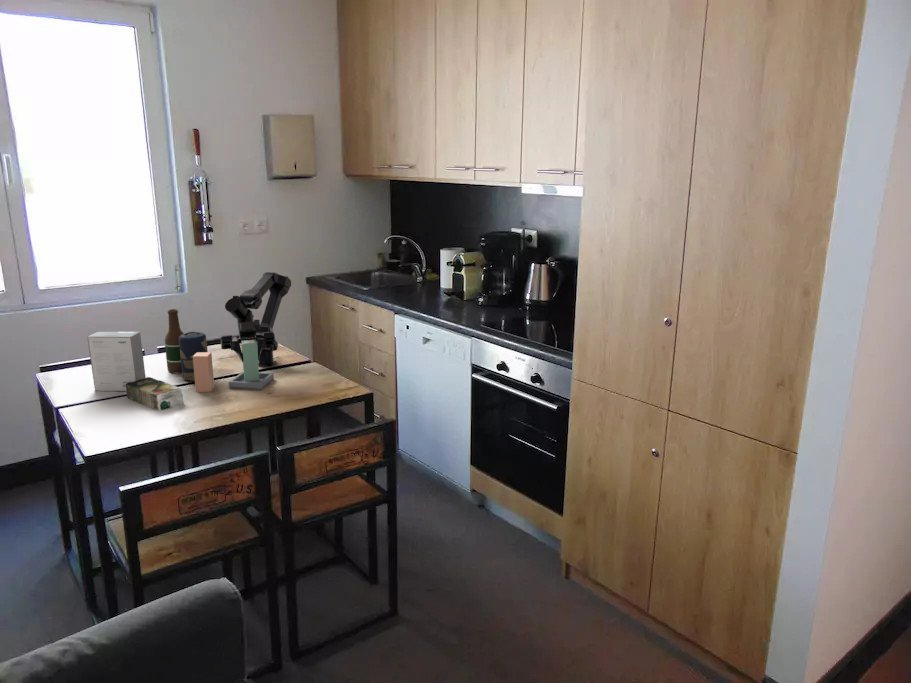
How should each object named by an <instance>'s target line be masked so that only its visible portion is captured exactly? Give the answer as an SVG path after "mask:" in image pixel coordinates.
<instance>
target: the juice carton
mask: <svg viewBox="0 0 911 683" xmlns="http://www.w3.org/2000/svg"><path fill="white" fill-rule="evenodd" d="M125 392H126V397H127V398H128V399H131V400H132V401H133V402H137V403H138V404H141V405H144V406H146V407H149V408H152V409H155V410H158V411H162V410H164V409H166V408H172V407H174V406H177V405H181V404H184V395H183V388H180V387H179V386H176V385H174V384H171V383H168V382H165V381H163V380H160V379H156V378H153V377H149V376H148V377H147V376H146V378H144V379H140V380H137V381H133V382H129V383H127V384H126V391H125Z"/></svg>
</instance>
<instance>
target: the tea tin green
mask: <svg viewBox="0 0 911 683" xmlns="http://www.w3.org/2000/svg"><path fill="white" fill-rule="evenodd" d="M240 345H241V351H242V355H243V362H242V372H244V379H245V382H246V381H256V380H259V373H260V366H259V365H258V362H259V360H258V350H257V342H256V339H255V340H243V341H241V343H240Z"/></svg>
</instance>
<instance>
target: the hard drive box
mask: <svg viewBox="0 0 911 683" xmlns="http://www.w3.org/2000/svg"><path fill="white" fill-rule="evenodd" d="M141 338H142V337H141V331H97V332H95V333H92V334H90V335H88V336H87V346H88V351H89V353H88V354H89V357H90V358H89V359H90V365H91V371H92V379H93V387H94V391H102V392H103V391H104V392H108V391H109V392H127V391H126V384H127V383H129V382H133V381H137V380H140V379H144V378H147V376H146V369H145V363H144V362H145V361H144V353H143V346H142V339H141Z"/></svg>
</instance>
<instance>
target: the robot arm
mask: <svg viewBox="0 0 911 683" xmlns="http://www.w3.org/2000/svg"><path fill="white" fill-rule="evenodd" d="M291 287H292V280H291V279H290V278H289V276H284V275H281V274H279V273H277V272H273V271H272V272H270V271H269V272H268V271H265V272H263V275H262V277H261V278H260V279H258V281H257V282H256V284H255V285H253V287H251V288H250V289H248V290H245V291H243V292H242V293H241V294H240V295H232V298H230V299H228V300H227V301H226V302H225V305H224V308H225V310H226V311H227V312H228V313H229V315H230V316H232V317H233V318H234V319H236V320H237V322H236V323H237V330H238V335H239V337H236V336H235V337H233V334H227V335H221V337H220V348H221V350H231V351H234V353H235V354H236V355H237V356H238V357H239V359H240V361H241V362H242V363H243V355H242V347H241V341H243V340H255V339H256V342H257V350H258V365H259V367H273V366H274V365H275V364H276V363H277V362H278V361H277V360H274V351H277V350H278V348H279V342H278V341H277V340H276V337H275V332H274V329H273V328H274V326H275V322H276V319H277V315H278V312H279V309H280V305H281V302H282V299H283V298H284V297H285V296H286V295H287V294H288V292H290V288H291ZM268 291H269V296H268V298H267V302H266V305H265V309H264V313H263V315H262V318H261V321H260V319H254V317H255V316H254V313H253V311H252V310H257V309H259V308H260V307H261V305H262V303H263V300H262V298H263V297H264V296H265V295H266V293H267V292H268Z"/></svg>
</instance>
